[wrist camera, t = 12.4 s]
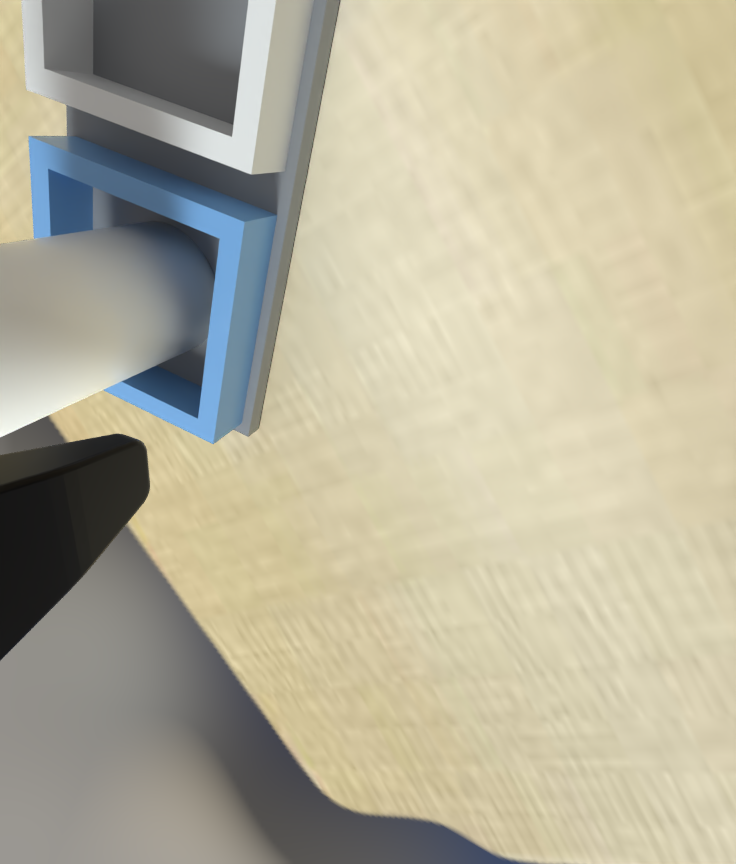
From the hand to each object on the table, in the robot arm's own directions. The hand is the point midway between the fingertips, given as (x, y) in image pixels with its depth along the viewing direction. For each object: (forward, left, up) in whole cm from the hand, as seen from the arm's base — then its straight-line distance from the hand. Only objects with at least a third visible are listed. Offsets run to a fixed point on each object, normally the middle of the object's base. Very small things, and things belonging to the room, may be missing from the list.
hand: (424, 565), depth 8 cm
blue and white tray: (+13, +5, -13) cm, 19 cm away
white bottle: (+11, +9, -12) cm, 19 cm away
